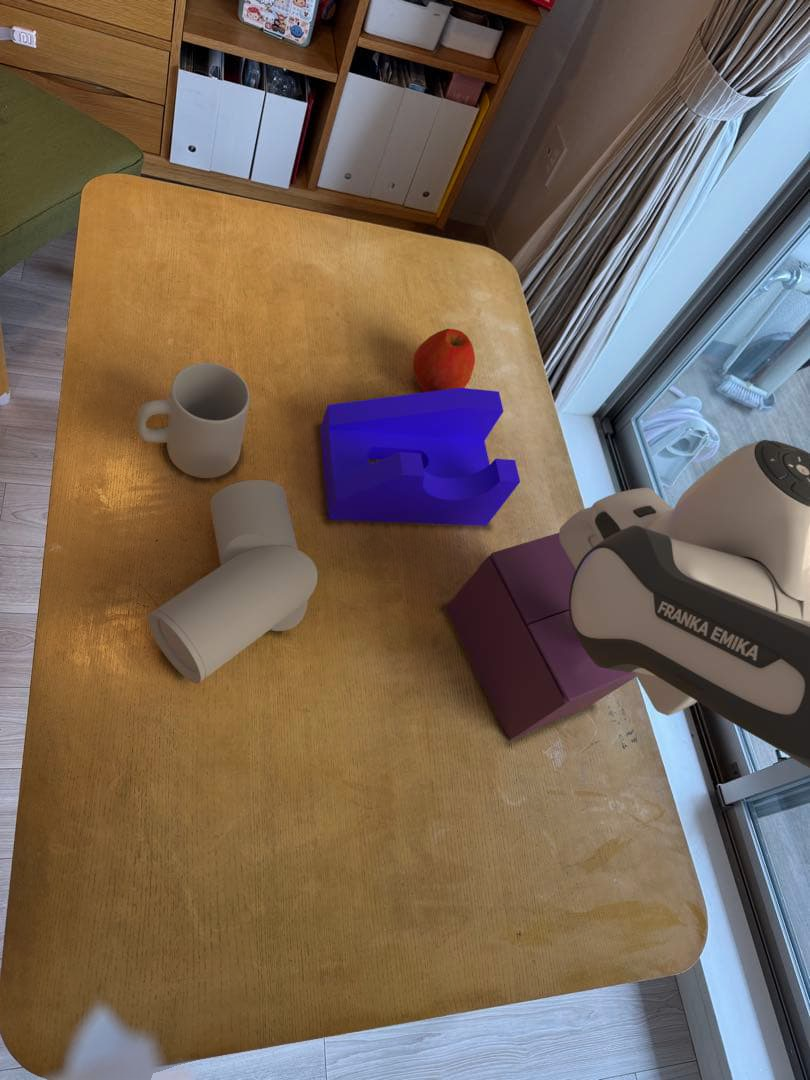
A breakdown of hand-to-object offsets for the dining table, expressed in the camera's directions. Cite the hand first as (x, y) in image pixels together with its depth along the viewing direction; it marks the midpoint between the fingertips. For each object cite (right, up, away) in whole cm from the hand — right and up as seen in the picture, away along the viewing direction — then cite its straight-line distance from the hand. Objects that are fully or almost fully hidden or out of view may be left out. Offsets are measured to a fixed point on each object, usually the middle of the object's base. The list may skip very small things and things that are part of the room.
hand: (593, 636), depth 78 cm
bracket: (-19, +18, +23) cm, 35 cm away
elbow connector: (-39, +3, +7) cm, 39 cm away
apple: (-15, +31, +32) cm, 47 cm away
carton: (-6, -4, +14) cm, 16 cm away
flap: (0, -1, +1) cm, 2 cm away
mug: (-45, +20, +15) cm, 52 cm away
